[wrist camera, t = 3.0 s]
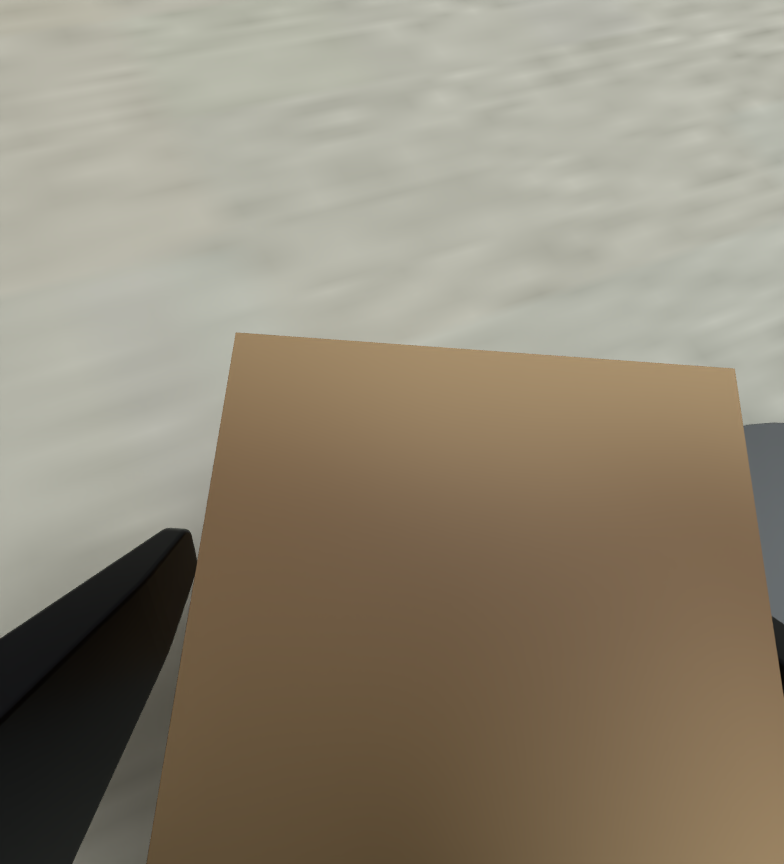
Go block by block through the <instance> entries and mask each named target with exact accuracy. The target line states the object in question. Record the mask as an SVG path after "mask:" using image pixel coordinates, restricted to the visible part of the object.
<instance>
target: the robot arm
mask: <svg viewBox="0 0 784 864" xmlns="http://www.w3.org/2000/svg"><path fill="white" fill-rule="evenodd" d="M196 566H197V557H196V553H195V548H194V544H193V539H192V535H191V533H190V531H189V530H187V529H179V528H166V529H164V530H162V531H160V532H159V533H157V534H156V535H154V536H153V537H151V538H150V539H148V540H147V541H145V542H144V543H142V544H141V545H139V546H138V547H136V548H135V549H133V550H132V551H130V552H129V553H127V554H126V555H124V556H123V557H121V558H120V559H118V560H117V561H115V562H114V563H112V564H111V565H109V566H108V567H106V568H105V569H103V570H102V571H100V572H99V573H97V574H96V575H94V576H93V577H91V578H90V579H88V580H87V581H85V582H84V583H82V584H81V585H79V586H78V587H76V588H75V589H74V590H72V591H71V592H69V593H68V594H66V595H65V596H63V597H62V598H60V599H59V600H57V601H56V602H54V603H53V604H51V605H50V606H48V607H47V608H45V609H44V610H42V611H41V612H39V613H38V614H36V615H35V616H33V617H32V618H30V619H29V620H27V621H26V622H24V623H23V624H21V625H20V626H18V627H17V628H15V629H14V630H12V631H11V632H9V633H8V634H6V635H5V636H3V637H2V638H0V864H72V863H73V860H74V858H75V856H76V854H77V852H78V850H79V847H80V845H81V843H82V841H83V839H84V837H85V834H86V832H87V830H88V828H89V826H90V823H91V821H92V819H93V817H94V815H95V813H96V810H97V808H98V806H99V804H100V802H101V799H102V797H103V795H104V793H105V791H106V789H107V786H108V784H109V782H110V780H111V778H112V775H113V773H114V771H115V769H116V767H117V765H118V762H119V760H120V758H121V756H122V754H123V752H124V749H125V747H126V745H127V743H128V741H129V738H130V736H131V734H132V732H133V730H134V728H135V725H136V723H137V721H138V719H139V717H140V714H141V712H142V710H143V708H144V706H145V704H146V701H147V699H148V697H149V695H150V693H151V690H152V688H153V686H154V684H155V682H156V680H157V677H158V675H159V673H160V671H161V669H162V667H163V664H164V662H165V660H166V657H167V655H168V653H169V650H170V647H171V644H172V642H173V639H174V636H175V633H176V630H177V627H178V624H179V621H180V618H181V615H182V612H183V609H184V606H185V603H186V601H187V598H188V595H189V592H190V589H191V586H192V583H193V580H194V577H195V572H196ZM772 622H773V629H774V635H775V642H776V649H777V655H778V662H779V669H780V675H781V682H782V689H783V696H784V624H783V623H782V622H780V621H779V620H777V619H776V618H775V617H773V616H772Z"/></svg>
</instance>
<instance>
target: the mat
mask: <svg viewBox="0 0 784 864" xmlns="http://www.w3.org/2000/svg"><path fill="white" fill-rule="evenodd" d="M743 428H744V434H745V441H746V448H747V455H748V461H749V468H750V475H751V481H752V488H753V495H754V501H755V508H756V515H757V522H758V528H759V535H760V542H761V548H762V555H763V562H764V568H765V575H766V582H767V588H768V595H769V602H770V609H771V615H772V616H773V617H775V618H776V619H777V620H779V621H780V622H782V623H783V624H784V423H764V424H752V425H746V426H743Z"/></svg>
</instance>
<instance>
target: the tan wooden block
mask: <svg viewBox="0 0 784 864" xmlns="http://www.w3.org/2000/svg"><path fill="white" fill-rule="evenodd" d="M146 864H784V696H783V689H782V682H781V675H780V669H779V662H778V655H777V649H776V642H775V635H774V629H773V622H772V615H771V609H770V602H769V595H768V588H767V582H766V575H765V568H764V562H763V555H762V548H761V542H760V535H759V528H758V522H757V515H756V508H755V501H754V495H753V488H752V481H751V475H750V468H749V461H748V455H747V448H746V441H745V434H744V428H743V421H742V414H741V408H740V401H739V394H738V388H737V381H736V374H735V369H732V368H718V367H704V366H690V365H677V364H663V363H649V362H635V361H621V360H608V359H594V358H580V357H566V356H552V355H539V354H525V353H511V352H497V351H483V350H470V349H456V348H442V347H428V346H414V345H401V344H387V343H373V342H359V341H345V340H332V339H318V338H304V337H290V336H276V335H263V334H249V333H236V335H235V341H234V347H233V352H232V358H231V364H230V370H229V376H228V382H227V388H226V394H225V400H224V406H223V412H222V418H221V424H220V430H219V436H218V442H217V447H216V453H215V459H214V465H213V471H212V477H211V483H210V489H209V495H208V501H207V507H206V513H205V519H204V525H203V531H202V536H201V542H200V548H199V554H198V560H197V566H196V572H195V578H194V584H193V590H192V596H191V602H190V608H189V614H188V620H187V626H186V631H185V637H184V643H183V649H182V655H181V661H180V667H179V673H178V679H177V685H176V691H175V697H174V703H173V709H172V715H171V720H170V726H169V732H168V738H167V744H166V750H165V756H164V762H163V768H162V774H161V780H160V786H159V792H158V798H157V804H156V810H155V815H154V821H153V827H152V833H151V839H150V845H149V851H148V857H147V863H146Z"/></svg>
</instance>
